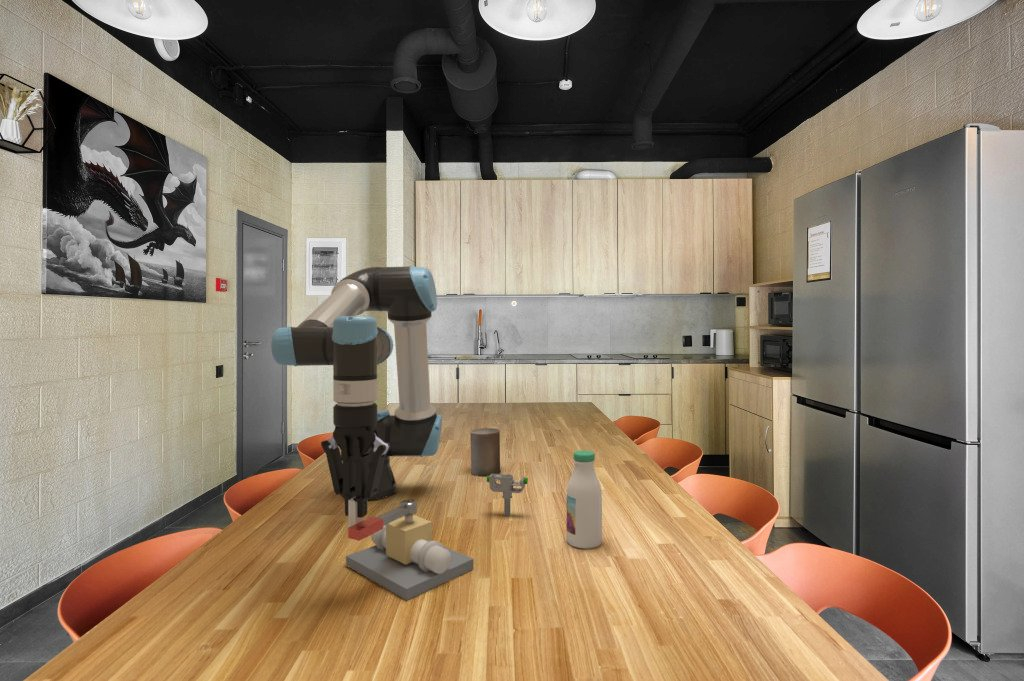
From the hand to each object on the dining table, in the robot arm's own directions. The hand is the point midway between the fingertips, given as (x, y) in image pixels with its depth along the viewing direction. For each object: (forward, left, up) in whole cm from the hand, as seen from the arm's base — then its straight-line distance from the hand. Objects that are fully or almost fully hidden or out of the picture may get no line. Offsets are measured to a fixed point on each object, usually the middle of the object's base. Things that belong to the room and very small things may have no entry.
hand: (356, 533), depth 95 cm
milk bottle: (+18, +45, -11) cm, 50 cm away
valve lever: (+1, +6, 0) cm, 6 cm away
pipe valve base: (-1, +12, -11) cm, 16 cm away
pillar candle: (-38, +70, -11) cm, 81 cm away
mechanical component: (-6, +46, -11) cm, 48 cm away
